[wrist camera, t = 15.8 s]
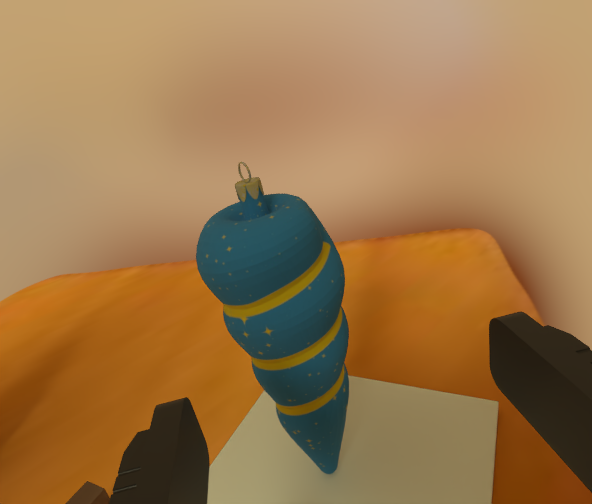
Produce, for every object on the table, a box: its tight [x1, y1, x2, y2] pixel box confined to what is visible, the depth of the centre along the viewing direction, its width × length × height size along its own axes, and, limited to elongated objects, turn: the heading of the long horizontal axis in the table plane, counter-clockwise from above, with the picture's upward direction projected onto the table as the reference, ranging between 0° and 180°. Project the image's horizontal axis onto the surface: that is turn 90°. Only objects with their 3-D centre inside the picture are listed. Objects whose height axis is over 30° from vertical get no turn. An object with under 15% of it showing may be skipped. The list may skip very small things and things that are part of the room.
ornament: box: [196, 162, 349, 474], centre depth 17 cm, size 5×5×15 cm
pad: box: [207, 375, 498, 504], centre depth 20 cm, size 13×11×1 cm
